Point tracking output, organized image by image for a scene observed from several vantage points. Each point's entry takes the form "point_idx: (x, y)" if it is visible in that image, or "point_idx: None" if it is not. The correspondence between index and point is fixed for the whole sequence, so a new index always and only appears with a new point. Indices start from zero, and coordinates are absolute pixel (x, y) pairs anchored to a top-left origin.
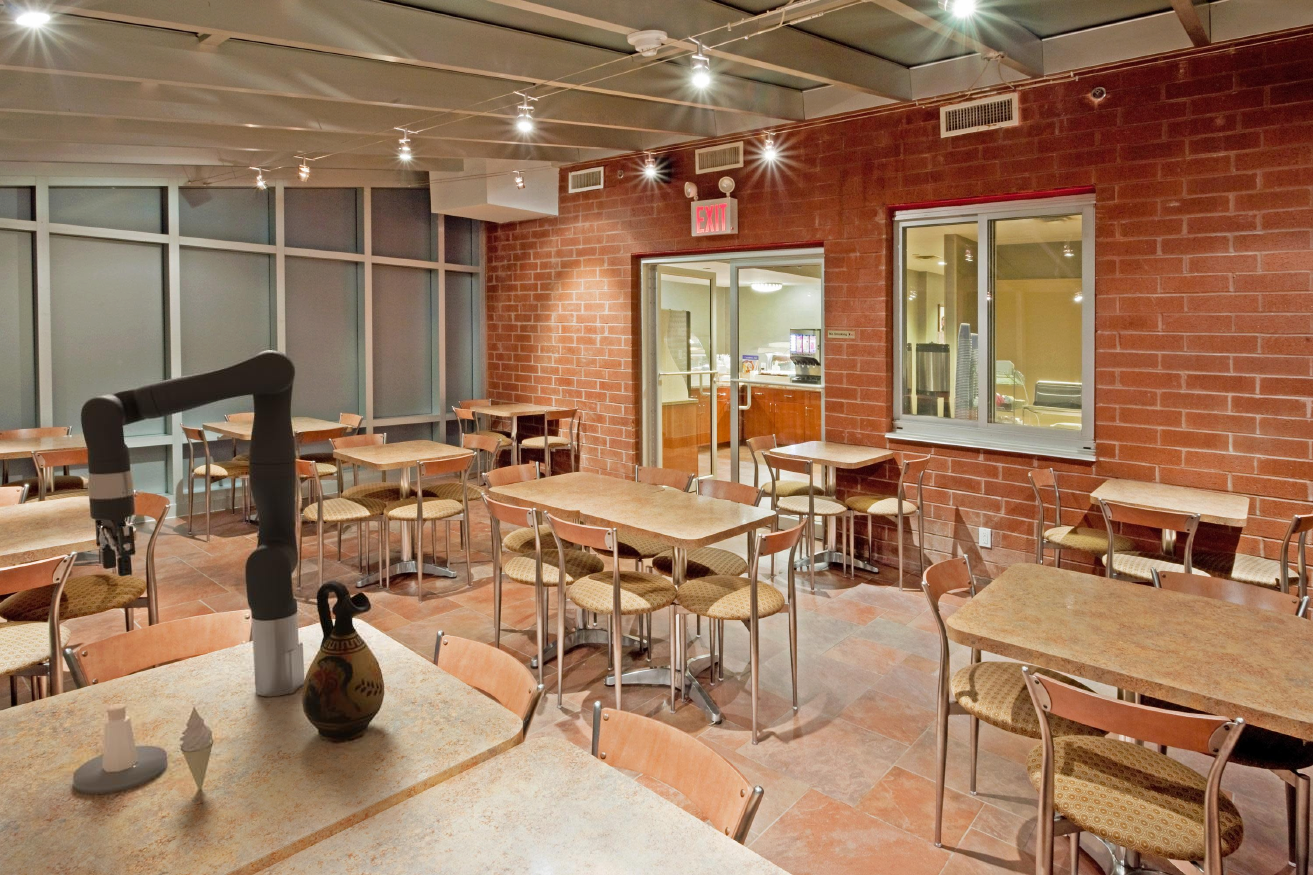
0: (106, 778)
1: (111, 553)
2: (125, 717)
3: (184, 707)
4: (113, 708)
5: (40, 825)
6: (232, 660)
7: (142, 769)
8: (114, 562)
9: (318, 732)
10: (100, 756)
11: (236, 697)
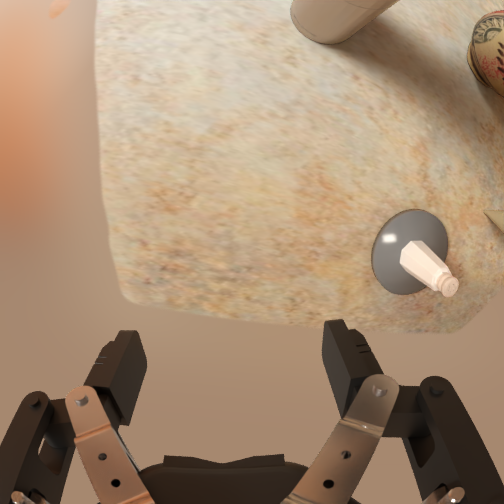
0: None
1: (120, 388)
2: (447, 272)
3: (287, 132)
4: (454, 292)
5: (431, 317)
6: (142, 23)
7: (437, 242)
8: (132, 347)
9: (485, 83)
10: (377, 265)
11: (310, 66)
